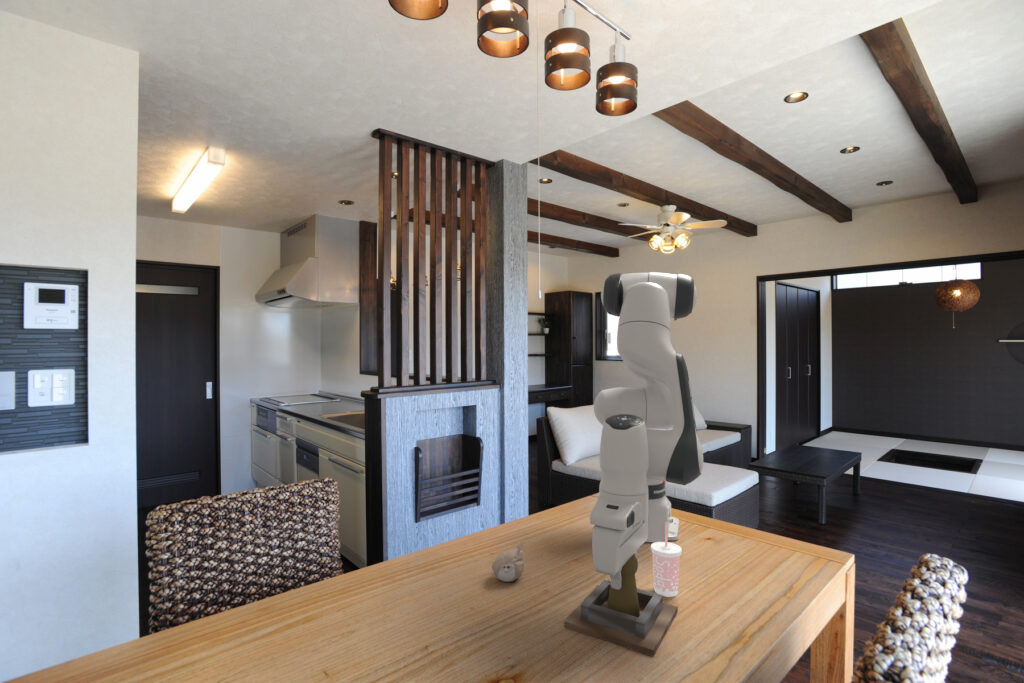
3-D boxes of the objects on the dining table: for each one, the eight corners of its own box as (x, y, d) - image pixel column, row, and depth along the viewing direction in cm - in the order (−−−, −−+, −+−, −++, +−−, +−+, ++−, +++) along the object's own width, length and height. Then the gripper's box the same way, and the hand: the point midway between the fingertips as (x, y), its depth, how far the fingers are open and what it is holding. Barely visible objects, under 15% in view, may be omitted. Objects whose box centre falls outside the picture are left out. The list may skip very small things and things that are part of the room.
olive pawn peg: (641, 624, 88) (641, 562, 88) (606, 620, 90) (606, 559, 90) (638, 607, 94) (639, 548, 94) (606, 603, 95) (606, 545, 96)
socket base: (597, 589, 103) (598, 572, 103) (677, 612, 95) (677, 593, 95) (564, 626, 89) (564, 606, 89) (653, 656, 81) (653, 634, 81)
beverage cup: (644, 588, 104) (644, 520, 104) (664, 581, 107) (664, 515, 107) (667, 601, 98) (668, 530, 99) (688, 593, 102) (688, 524, 102)
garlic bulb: (514, 589, 103) (514, 550, 103) (487, 582, 106) (487, 544, 106) (528, 576, 109) (528, 539, 109) (502, 570, 112) (502, 534, 112)
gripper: (625, 488, 103) (625, 556, 103) (585, 517, 85) (585, 598, 85) (656, 493, 99) (655, 563, 99) (621, 524, 82) (621, 609, 82)
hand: (622, 580), depth 92 cm, fingers open, 5 cm apart
